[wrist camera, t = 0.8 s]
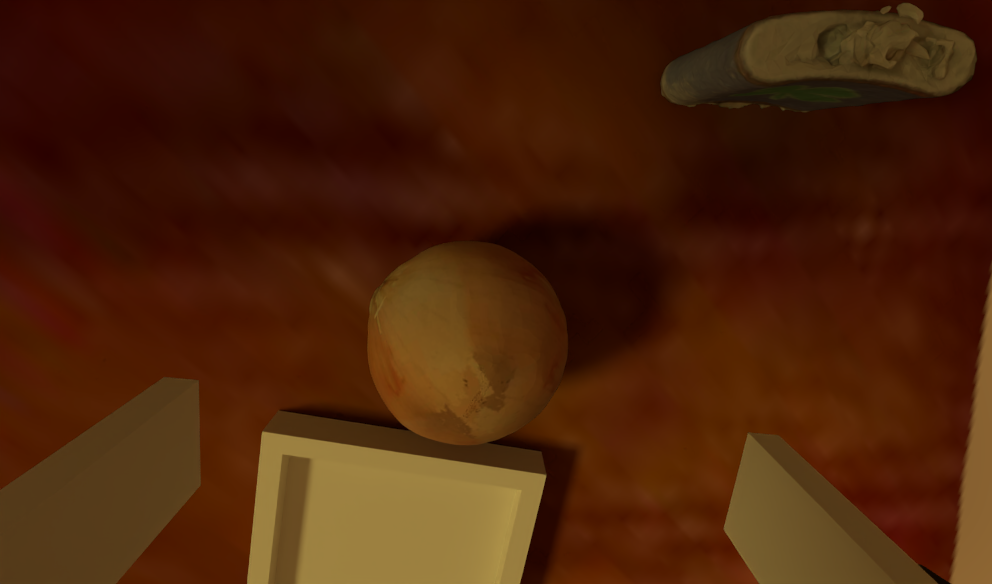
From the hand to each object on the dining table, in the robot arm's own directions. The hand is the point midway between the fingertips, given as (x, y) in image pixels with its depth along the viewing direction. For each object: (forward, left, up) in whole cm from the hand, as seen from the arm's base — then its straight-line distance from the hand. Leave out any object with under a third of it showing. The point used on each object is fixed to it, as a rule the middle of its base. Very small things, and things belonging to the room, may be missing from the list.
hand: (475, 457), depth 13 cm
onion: (0, -2, -18) cm, 18 cm away
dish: (-2, -18, -18) cm, 25 cm away
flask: (+12, +13, -18) cm, 25 cm away
